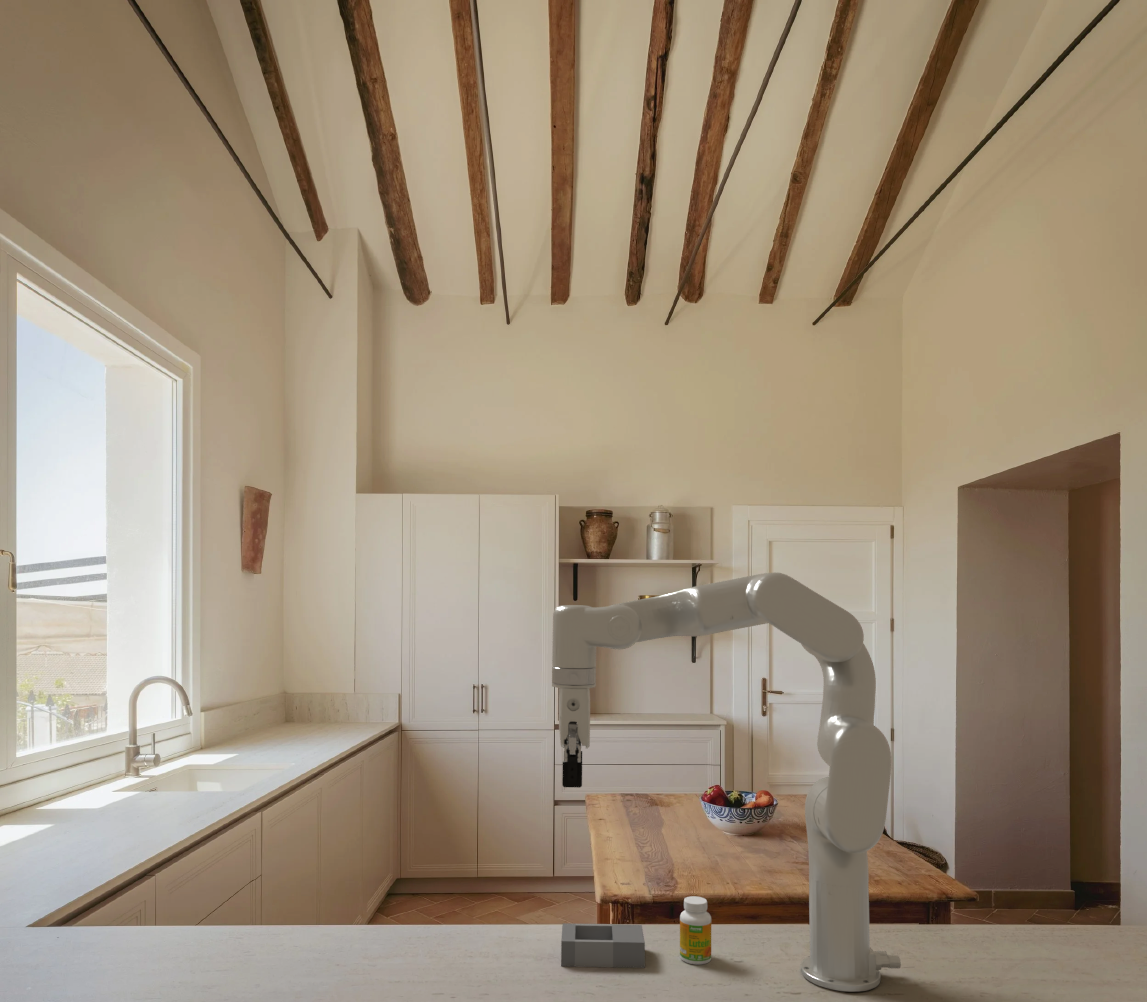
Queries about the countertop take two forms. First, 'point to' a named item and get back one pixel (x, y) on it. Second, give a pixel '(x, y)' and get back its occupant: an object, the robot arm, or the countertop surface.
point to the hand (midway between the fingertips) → (572, 780)
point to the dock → (602, 945)
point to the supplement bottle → (695, 931)
